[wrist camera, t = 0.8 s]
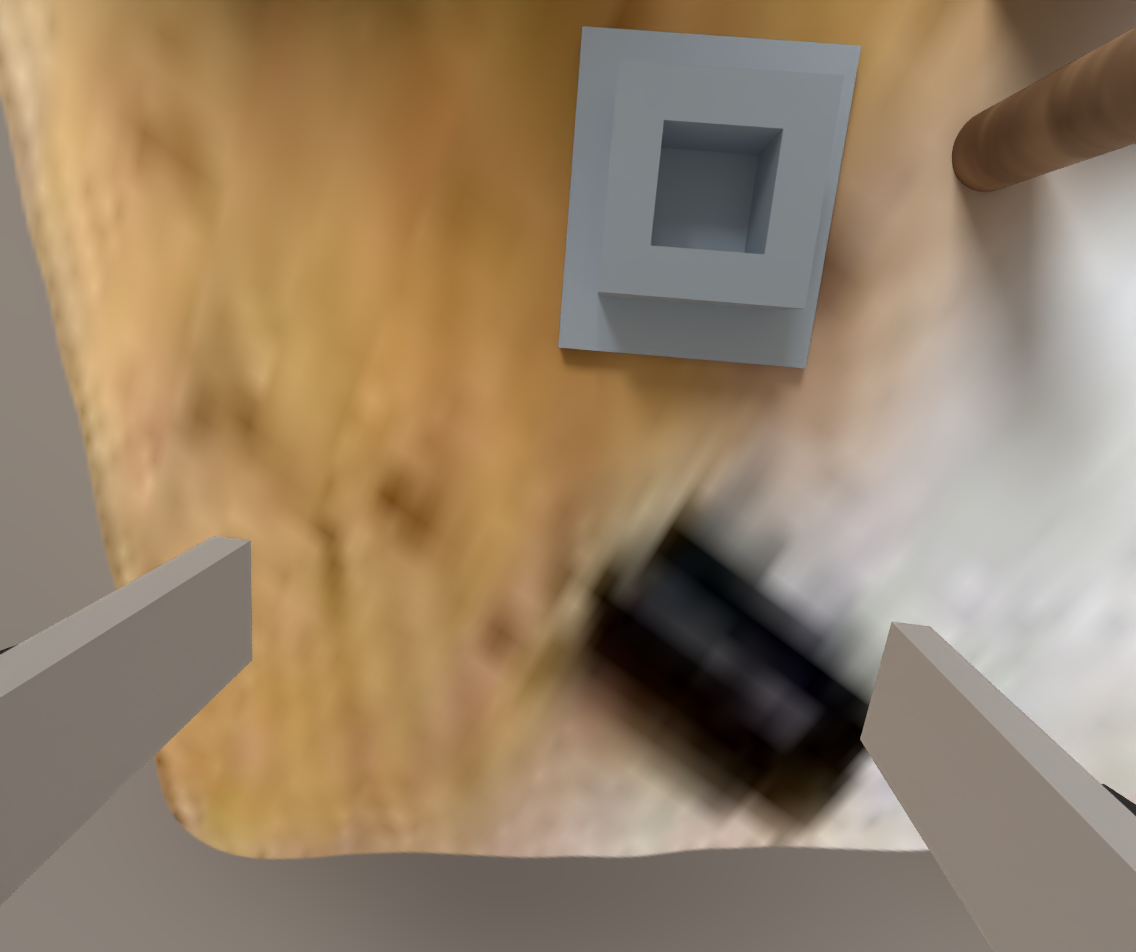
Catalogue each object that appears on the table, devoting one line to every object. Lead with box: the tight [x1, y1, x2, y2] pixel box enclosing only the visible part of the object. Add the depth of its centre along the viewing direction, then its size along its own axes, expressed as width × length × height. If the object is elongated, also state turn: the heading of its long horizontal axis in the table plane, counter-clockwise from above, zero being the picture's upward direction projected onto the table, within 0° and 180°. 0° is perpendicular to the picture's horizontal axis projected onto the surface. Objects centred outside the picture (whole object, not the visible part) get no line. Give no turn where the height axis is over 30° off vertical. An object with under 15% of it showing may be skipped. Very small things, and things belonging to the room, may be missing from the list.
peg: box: [952, 27, 1136, 192], centre depth 26 cm, size 4×4×14 cm
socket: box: [558, 26, 861, 368], centre depth 31 cm, size 16×14×6 cm
